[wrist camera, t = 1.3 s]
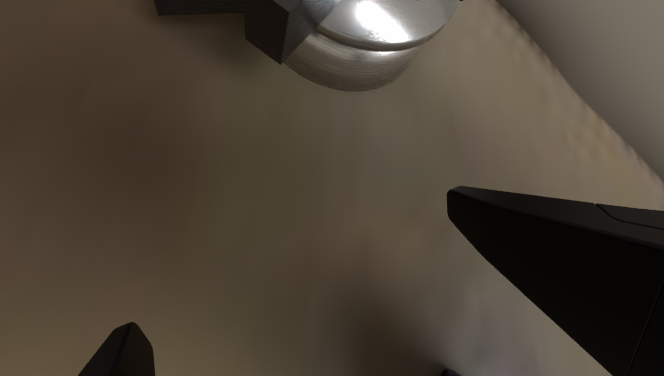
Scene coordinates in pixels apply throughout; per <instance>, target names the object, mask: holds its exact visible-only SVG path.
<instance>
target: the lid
mask: <svg viewBox="0 0 664 376" xmlns="http://www.w3.org/2000/svg"><path fill="white" fill-rule="evenodd" d="M458 3H459V0H246V15H245V39H246V40H248V41H249V42H250V43H252V44H253V45H254V46H256V47H257V48H258V49H260V50H261V51H262V52H264V53H265V54H267V55H268V56H269V57H271V58H272V59H273V60H275V61H276V62H277V63H279V64H280V65H281V64H282V63H283V62H284V61H285V60H286V59H287V58H288V57H289V56H290V54H291V53H292V52H293V51H294V50H295V49H296V48H297V47H298V46H299V45H300V44H301V43H302V42H303V41H304V40H305V39H306V38H307V37H308V36H309V35H310V34H311V32H312V31H315V32H317V33H319V34H321V35H322V36H324V37H326V38H328V39H330V40H333V41H335V42H338V43H340V44H343V45H346V46H349V47H353V48H356V49H361V50H367V51H375V52H394V51H402V50H407V49H411V48H414V47H416V46H419V45H421V44H423V43H425V42H427V41H429V40H430V39H431V38H433V37H434V36H435V35H436V34H438V33H439V31H440V30H441V29H442V28H443V27H444V25H445V24H446V23H447V22H448V20H449V19H450V18H451V16H452V15H453V13H454V11H455V10H456V8H457V5H458Z"/></svg>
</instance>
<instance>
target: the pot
mask: <svg viewBox="0 0 664 376" xmlns="http://www.w3.org/2000/svg"><path fill="white" fill-rule="evenodd" d="M459 1H463V0H459ZM154 2H155V5H156V9H157V12H158V15H159V16H165V15H191V14H216V13H241V12H246V0H154ZM423 45H424V43H423V44H421V45H419V46H416V47H414V48H411V49H407V50H402V51H394V52H375V51H367V50H361V49H356V48H353V47H349V46H346V45H343V44H340V43H338V42H335V41H333V40H330V39H328V38H326V37H324V36H322V35H321V34H319V33H317V32H315V31H312V32H311V34H310V35H309V36H308V37H307V38H306V39H305V40H304V41H303V42H302V43H301V44H300V45H299V46H298V47H297V48H296V49H295V50H294V51H293V52H292V53H291V54H290V56H289V57H288V58H287V59H286V60H285V61H284V62H285V63H286V64H287V65H288V66H289V67H290V68H292V69H293V70H295V71H296V72H297V73H299V74H300V75H302V76H304V77H305V78H307V79H309V80H311V81H313V82H315V83H318V84H320V85H323V86H326V87H330V88H333V89H338V90H344V91H365V90H371V89H375V88H378V87H381V86H384V85H386V84H388V83H390V82H392V81H393V80H394V79H396V78H397V77H398V76H400V74H401V73H402V72H403V71H404V70H405V69H406V68H407V66H408V65H409V64H410V62H411V61H412V59H413V58H414V57H415V55H416V54H417V53H418V51H419V50H420V49H421V47H422V46H423Z"/></svg>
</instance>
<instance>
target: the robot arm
mask: <svg viewBox="0 0 664 376" xmlns="http://www.w3.org/2000/svg"><path fill="white" fill-rule="evenodd" d="M447 213H448V217H449V219H450V220H451V222H452V223H453V224H454V225H455V226H456V227H457V228H458V229H459V231H460V232H461V233H462V234H463V235H464V236H465V237H466V238H467V240H468V241H469V242H470V243H471V244H472V245H473V246H474V247H475V249H476V250H477V251H478V252H479V253H480V254H481V255H482V256H483V257H484V258H485V259H486V260H487V261H488V262H489V263H490V264H491V265H493V266H494V267H495V268H496V269H497V270H498V271H499V272H500V273H501V274H502V275H503V276H505V277H506V278H507V279H508V280H509V281H510V282H511V283H512V284H513V285H514V286H515V287H517V288H518V289H519V290H520V291H521V292H522V293H523V294H524V295H525V296H526V297H527V298H529V299H530V300H531V301H532V302H533V303H534V304H535V305H536V306H537V307H538V308H539V309H541V310H542V311H543V312H544V313H545V314H546V315H547V316H548V317H549V318H550V319H551V320H553V321H554V322H555V323H556V324H557V325H558V326H559V327H560V328H561V329H562V330H563V331H565V332H566V333H567V334H568V335H569V336H570V337H571V338H572V339H573V340H574V341H575V342H577V343H578V344H579V345H580V346H581V347H582V348H583V349H584V350H585V351H586V352H587V353H589V354H590V355H591V356H592V357H593V358H594V359H595V360H596V361H597V362H598V363H599V364H601V365H602V366H603V367H604V368H605V369H606V370H607V371H608V372H609V373H610V374H611V375H613V376H664V211H658V210H648V209H638V208H629V207H621V206H612V205H605V204H594V203H589V202H581V201H574V200H566V199H558V198H551V197H543V196H535V195H528V194H520V193H512V192H504V191H497V190H489V189H481V188H474V187H466V186H458V187H455V188H453V189H450V190H449V191H448V192H447ZM450 375H451V376H460V375H459V374H457V373H456V372H454V371H452V370H450V369H446V370H445V371H444V372H443V373H442V375H441V376H450ZM78 376H155V368H154V355H153V348H152V345H151V343H150V342H149V340H148V339H147V337H146V336H145V335H144V333H143V332H142V330H141V329H140V328H139V326H138V325H137V324H136V323H135V322H130V323H127V324H125V325H122V326H120V327H118V328H116V329H114V330H113V331H112V333H111V334H110V335H109V336H108V338H107V339H106V340H105V341H104V343H103V344H102V345H101V347H100V348H99V349H98V350H97V352H96V353H95V354H94V356H93V357H92V358H91V359H90V361H89V362H88V363H87V364H86V366H85V367H84V368H83V370H82V371H81V372H80V373H79V375H78Z"/></svg>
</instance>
